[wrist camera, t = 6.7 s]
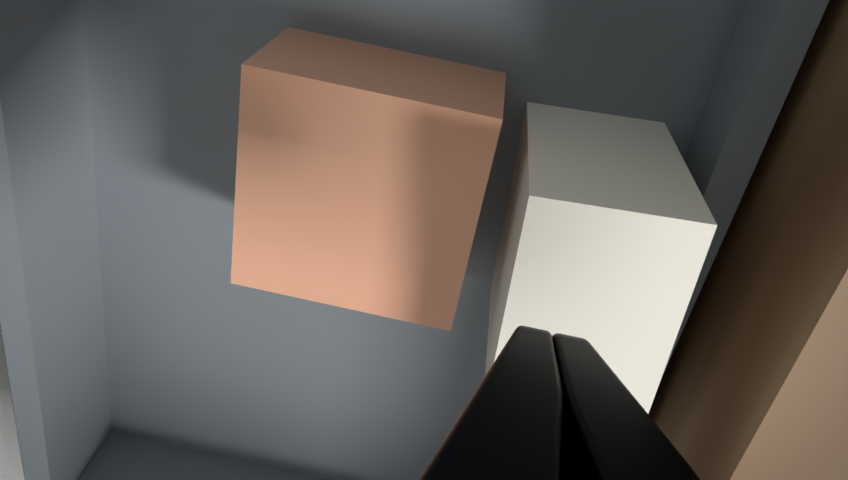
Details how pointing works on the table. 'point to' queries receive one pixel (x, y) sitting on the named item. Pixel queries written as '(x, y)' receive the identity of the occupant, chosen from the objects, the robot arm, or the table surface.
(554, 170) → the cream tile
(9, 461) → the table surface
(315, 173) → the terracotta tile
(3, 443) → the table surface
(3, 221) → the box
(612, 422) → the robot arm
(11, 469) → the table surface
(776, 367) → the walnut plate
